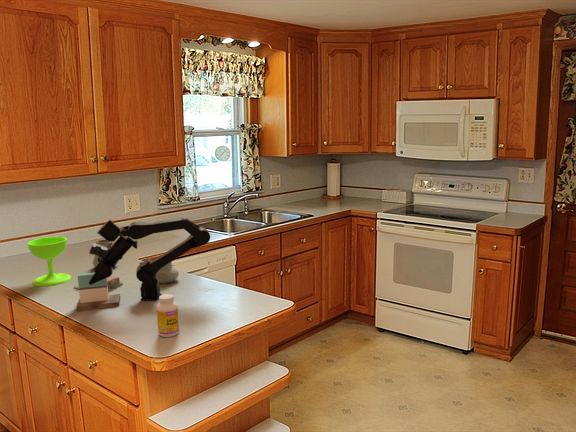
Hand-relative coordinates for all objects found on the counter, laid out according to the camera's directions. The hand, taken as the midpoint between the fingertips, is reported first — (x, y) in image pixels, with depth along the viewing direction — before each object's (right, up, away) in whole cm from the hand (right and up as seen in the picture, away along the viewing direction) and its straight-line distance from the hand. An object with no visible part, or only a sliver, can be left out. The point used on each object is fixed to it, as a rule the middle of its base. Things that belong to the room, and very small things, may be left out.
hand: (90, 280), depth 208 cm
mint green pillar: (+1, -2, +1) cm, 2 cm away
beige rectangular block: (+1, -8, +2) cm, 8 cm away
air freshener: (+22, -4, +28) cm, 36 cm away
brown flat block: (+2, -9, +2) cm, 10 cm away
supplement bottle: (+36, -14, -28) cm, 48 cm away
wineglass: (-29, -4, +34) cm, 45 cm away
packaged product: (-5, -6, +24) cm, 25 cm away
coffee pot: (-9, -1, +48) cm, 48 cm away
